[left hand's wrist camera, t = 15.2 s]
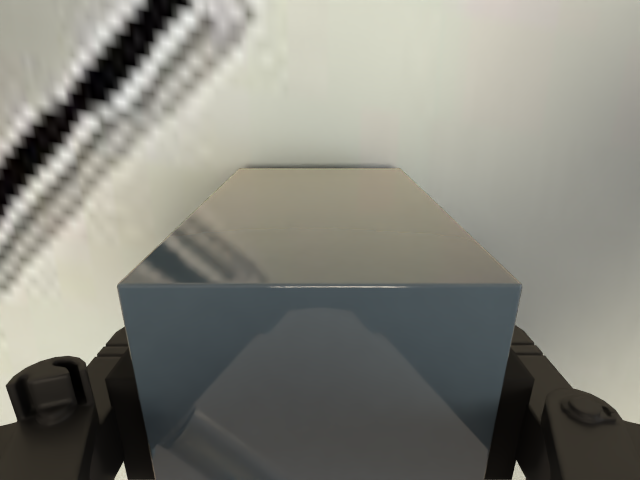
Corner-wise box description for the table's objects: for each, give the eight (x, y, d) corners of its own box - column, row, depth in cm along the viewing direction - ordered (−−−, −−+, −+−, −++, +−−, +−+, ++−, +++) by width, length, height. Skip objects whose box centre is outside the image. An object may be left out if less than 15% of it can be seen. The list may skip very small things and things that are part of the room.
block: (400, 167, 17) (524, 284, 7) (390, 310, 19) (470, 556, 9) (238, 167, 17) (114, 284, 7) (249, 310, 19) (169, 556, 9)
